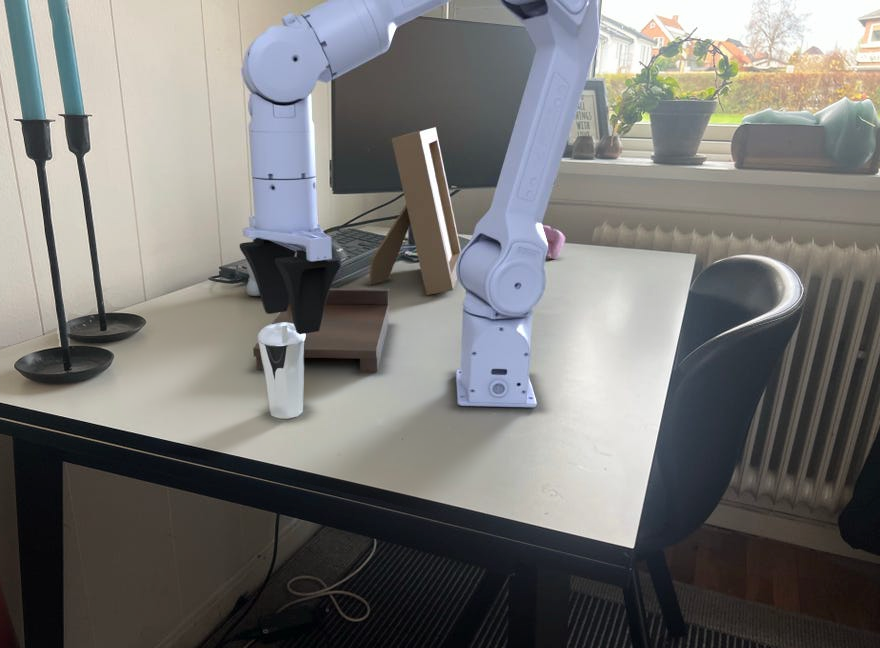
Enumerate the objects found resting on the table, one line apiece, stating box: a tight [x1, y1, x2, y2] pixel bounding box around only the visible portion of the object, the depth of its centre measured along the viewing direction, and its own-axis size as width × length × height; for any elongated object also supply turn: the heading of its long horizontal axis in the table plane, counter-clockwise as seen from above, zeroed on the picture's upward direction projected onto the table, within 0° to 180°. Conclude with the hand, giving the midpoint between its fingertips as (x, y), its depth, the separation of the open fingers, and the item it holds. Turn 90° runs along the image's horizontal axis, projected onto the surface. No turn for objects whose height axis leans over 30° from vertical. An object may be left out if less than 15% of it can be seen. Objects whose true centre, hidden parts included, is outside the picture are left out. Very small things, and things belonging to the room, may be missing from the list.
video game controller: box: [542, 225, 566, 260], centre depth 143 cm, size 10×5×7 cm, turn 58°
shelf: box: [252, 287, 390, 373], centre depth 89 cm, size 20×14×5 cm
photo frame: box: [368, 126, 462, 296], centre depth 120 cm, size 15×22×25 cm
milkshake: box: [257, 322, 306, 420], centre depth 69 cm, size 4×5×10 cm
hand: (291, 321), depth 68 cm, fingers open, 7 cm apart
